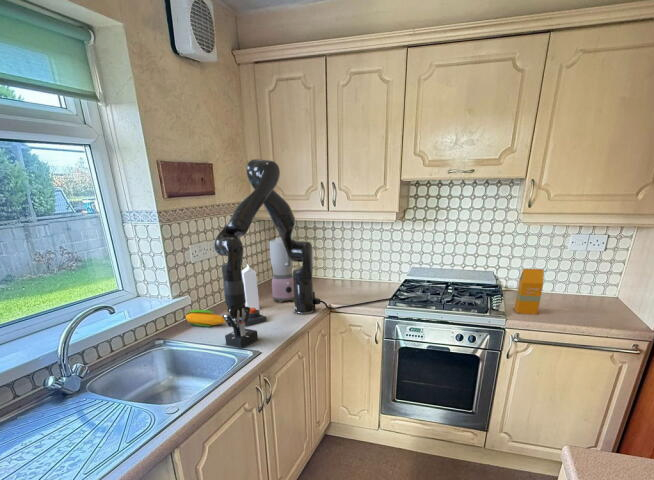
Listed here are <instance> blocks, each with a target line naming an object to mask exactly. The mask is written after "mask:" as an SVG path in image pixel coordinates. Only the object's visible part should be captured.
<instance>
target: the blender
mask: <svg viewBox="0 0 654 480" xmlns="http://www.w3.org/2000/svg"><path fill="white" fill-rule="evenodd" d="M269 257H270V264H271V268H272V272H273V273H272V274H273V277H272V279H271V290H272V299H273V300H274V301H278V303H280V304H283V301H291V302H294V286H293V264H294V263H293V262H294V261H292V260H290V258H289V257H288V254H287V252H286V249H285V247H284V244H283V241H282V239H281V237H280V236H279V237H275V238H274V239H271V240H270V241H269Z"/></svg>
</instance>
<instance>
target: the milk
mask: <svg viewBox="0 0 654 480" xmlns="http://www.w3.org/2000/svg"><path fill="white" fill-rule="evenodd" d="M241 271H242V279H243V283H244V291H245V299H246V303H245V306H246V307H250V308H256V310H259V311H260V310H261V308H260V299H259V290H258V279H257V278H258V277H257V272H256V270H255V269H252V268H250V265H249V264H248V263H246V267H245V268H243V269H241Z"/></svg>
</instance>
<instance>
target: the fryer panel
mask: <svg viewBox="0 0 654 480" xmlns="http://www.w3.org/2000/svg"><path fill="white" fill-rule="evenodd" d="M245 333H246V335H245V336H235V335H234V332H233V331H232V332H229V333H227V334H225V335H224V339H225V345H226V346H230V347H234V348H238V349H243V348H246V347H247V346H249V345H251V344H253V343H255V342H256V341H258V340H259V336H258V330H256V329H249V328H245Z"/></svg>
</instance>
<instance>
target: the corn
mask: <svg viewBox="0 0 654 480" xmlns="http://www.w3.org/2000/svg"><path fill="white" fill-rule="evenodd" d="M185 319H186V322H188V323H189V324H190V325H193V326H197V327H205V328H206V327H207V328H211V327H212V326H218V325H223V324H225V323H227V322H226V321H225V319H224V318H223V315H219V314H215V313H214V311H212V310H210V309H195V308H194V309H191V310H189V311H188V312H187V313H186V314H185Z"/></svg>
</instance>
